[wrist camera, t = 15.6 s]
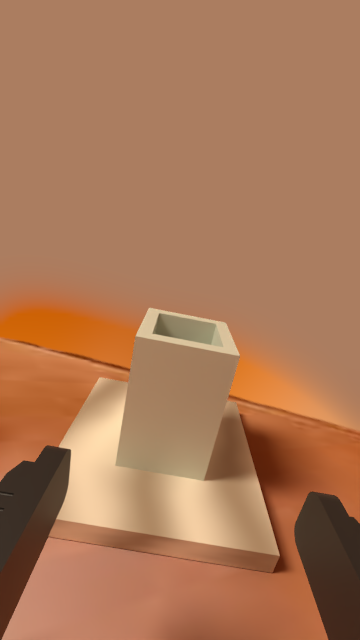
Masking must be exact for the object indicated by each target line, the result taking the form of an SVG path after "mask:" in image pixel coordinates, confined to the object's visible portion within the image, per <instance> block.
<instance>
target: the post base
mask: <svg viewBox="0 0 360 640" xmlns="http://www.w3.org/2000/svg"><path fill="white" fill-rule="evenodd" d="M127 388H128V382H122V381H117V380H112V379H106V378H101V377H100V378H99V379H98V381H97V383H96V385H95V386H94V388H93V390H92V391H91V393H90V395H89V396H88V398H87V400H86V401H85V403H84V405H83V406H82V408H81V410H80V411H79V413H78V415H77V417H76V418H75V420H74V422H73V423H72V425H71V427H70V428H69V430H68V432H67V433H66V435H65V437H64V438H63V440H62V442H61V443H60V445H59V447H60V448H66V449H70V450H71V461H70V473H69V485H68V490H67V493H66V497H65V500H64V503H63V505H62V507H61V510H60V512H59V514H58V516H57V518H56V521H55V523H54V525H53V527H52V529H51V531H50V534H49V536H48V537H54V538H60V539H66V540H72V541H78V542H84V543H91V544H97V545H103V546H109V547H115V548H121V549H128V550H134V551H140V552H146V553H152V554H158V555H165V556H171V557H177V558H183V559H189V560H195V561H202V562H208V563H214V564H220V565H226V566H232V567H239V568H245V569H251V570H257V571H263V572H269V573H272V572H273V570H274V568H275V566H276V564H277V561H278V559H279V557H280V554H279V551H278V547H277V544H276V540H275V537H274V533H273V530H272V526H271V523H270V519H269V516H268V512H267V509H266V505H265V502H264V498H263V495H262V491H261V488H260V484H259V481H258V477H257V474H256V470H255V467H254V463H253V460H252V456H251V453H250V449H249V446H248V442H247V439H246V435H245V432H244V428H243V425H242V422H241V418H240V415H239V411H238V408H237V404H236V402H231V401H227V403H226V406H225V409H224V413H223V416H222V420H221V423H220V427H219V430H218V434H217V437H216V440H215V444H214V447H213V451H212V454H211V458H210V461H209V465H208V468H207V471H206V475H205V478H204V481H201V480H196V479H190V478H184V477H178V476H173V475H167V474H161V473H155V472H149V471H144V470H138V469H132V468H126V467H121V466H115V464H116V457H117V451H118V445H119V438H120V432H121V426H122V419H123V413H124V407H125V400H126V394H127Z"/></svg>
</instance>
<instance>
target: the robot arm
mask: <svg viewBox="0 0 360 640" xmlns="http://www.w3.org/2000/svg"><path fill="white" fill-rule="evenodd" d="M70 461H71V450H70V449H66V448H60V447H54V446H46V447H45V448H44V449H43V451H42V452H41V454H40V455H39V457H38V458H37V460H36V461H35V462H30V461H23V462H21V463H20V464H19V465H17V466H16V467H15V468H13V469H12V470H11V471H9V472H8V473H7V474H6V475H5V476H4V478H3V479H2V480H1V482H0V640H1V639H2V637H3V635H4V632H5V630H6V628H7V626H8V624H9V621H10V619H11V617H12V615H13V613H14V610H15V608H16V606H17V604H18V602H19V599H20V597H21V595H22V593H23V591H24V589H25V586H26V584H27V582H28V580H29V578H30V575H31V573H32V571H33V569H34V567H35V564H36V562H37V560H38V558H39V556H40V553H41V551H42V549H43V547H44V545H45V542H46V540H47V538H48V536H49V534H50V531H51V529H52V527H53V525H54V523H55V521H56V518H57V516H58V514H59V512H60V510H61V507H62V505H63V503H64V500H65V497H66V493H67V490H68V485H69V473H70ZM294 532H295V542H296V546H297V549H298V552H299V555H300V557H301V560H302V563H303V566H304V569H305V572H306V575H307V578H308V581H309V584H310V587H311V590H312V592H313V595H314V598H315V601H316V604H317V607H318V610H319V613H320V616H321V619H322V622H323V625H324V627H325V630H326V633H327V636H328V639H329V640H360V524H359V523H358V522H357V520H356V519H355V518H354V517H349V515H348V514H347V512H346V510H345V508H344V506H343V505H342V503H341V501H340V500H339V499H338V497H336V496H335V495H329V494H323V493H317V492H310V493H309V494H308V496H307V498H306V501H305V503H304V505H303V507H302V510H301V512H300V514H299V516H298V519H297V521H296V523H295V531H294Z"/></svg>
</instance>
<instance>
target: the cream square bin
mask: <svg viewBox="0 0 360 640" xmlns="http://www.w3.org/2000/svg"><path fill="white" fill-rule="evenodd" d="M239 358H240V355H239V353H238V350H237V348H236V346H235V343H234V341H233V338H232V336H231V334H230V332H229V329H228V327H227V324H226V323H225V322H219V321H214V320H210V319H204V318H199V317H194V316H189V315H184V314H179V313H174V312H169V311H163V310H158V309H153V308H149V310H148V312H147V314H146V316H145V318H144V320H143V322H142V324H141V326H140V328H139V330H138V332H137V334H136V337H135V343H134V350H133V357H132V362H131V368H130V375H129V381H128V388H127V394H126V400H125V407H124V413H123V419H122V426H121V432H120V438H119V445H118V451H117V457H116V464H115V466H121V467H126V468H132V469H138V470H144V471H149V472H155V473H161V474H167V475H173V476H178V477H184V478H190V479H196V480H201V481H204V478H205V475H206V471H207V468H208V465H209V461H210V458H211V454H212V451H213V447H214V444H215V440H216V437H217V434H218V430H219V427H220V423H221V420H222V416H223V413H224V409H225V406H226V403H227V399H228V396H229V392H230V389H231V385H232V382H233V378H234V374H235V372H236V368H237V365H238V361H239Z"/></svg>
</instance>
